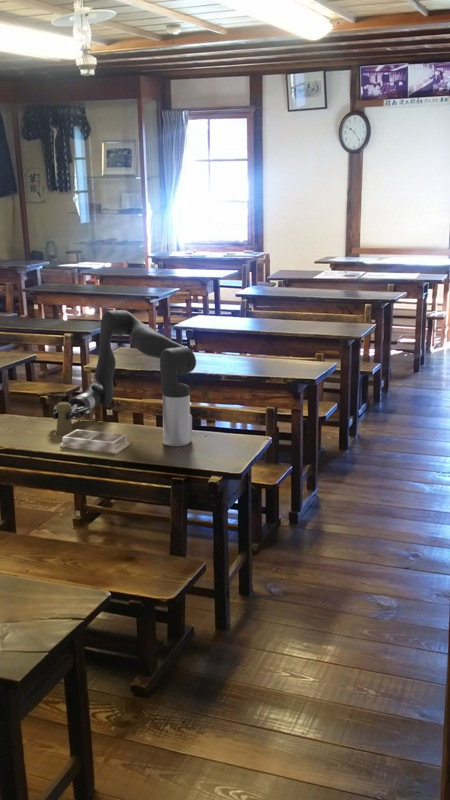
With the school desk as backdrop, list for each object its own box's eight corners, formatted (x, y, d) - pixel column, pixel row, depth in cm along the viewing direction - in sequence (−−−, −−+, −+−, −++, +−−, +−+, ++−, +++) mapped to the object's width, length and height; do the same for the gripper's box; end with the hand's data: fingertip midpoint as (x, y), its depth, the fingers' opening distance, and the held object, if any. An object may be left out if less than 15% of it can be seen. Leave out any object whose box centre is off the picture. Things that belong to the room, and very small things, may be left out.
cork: (71, 434, 279) (70, 405, 277) (54, 434, 279) (53, 404, 277) (74, 429, 285) (73, 400, 282) (58, 429, 285) (56, 400, 282)
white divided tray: (60, 446, 266) (59, 436, 265) (74, 438, 275) (74, 428, 275) (116, 453, 260) (116, 443, 259) (129, 444, 269) (129, 435, 268)
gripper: (63, 393, 295) (41, 405, 279) (98, 396, 291) (78, 408, 275) (64, 412, 297) (42, 425, 281) (99, 415, 293) (79, 428, 277)
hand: (60, 416), depth 278 cm, fingers closed on cork, 4 cm apart
